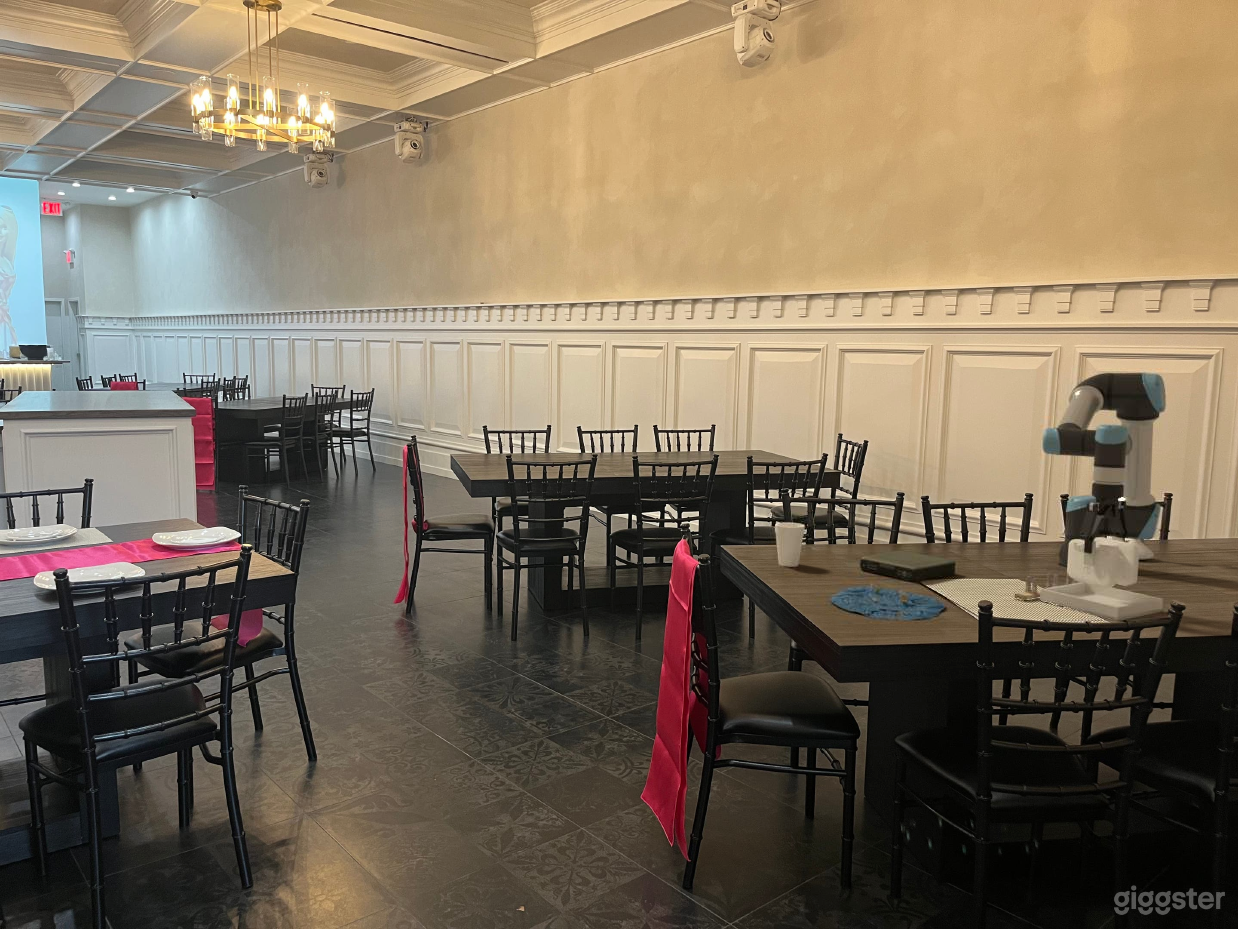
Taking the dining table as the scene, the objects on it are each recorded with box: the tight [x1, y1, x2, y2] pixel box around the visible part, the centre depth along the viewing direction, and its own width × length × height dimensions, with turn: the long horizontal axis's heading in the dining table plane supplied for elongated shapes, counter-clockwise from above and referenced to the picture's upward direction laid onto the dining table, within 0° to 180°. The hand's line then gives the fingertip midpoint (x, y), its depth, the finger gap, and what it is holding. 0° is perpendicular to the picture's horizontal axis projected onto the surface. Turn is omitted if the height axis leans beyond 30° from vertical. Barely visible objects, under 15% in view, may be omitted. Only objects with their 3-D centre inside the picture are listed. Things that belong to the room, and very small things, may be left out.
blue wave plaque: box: [829, 583, 946, 621], centre depth 244 cm, size 30×30×5 cm
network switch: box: [859, 549, 956, 583], centre depth 285 cm, size 23×23×5 cm
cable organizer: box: [1066, 537, 1139, 588], centre depth 245 cm, size 15×11×12 cm
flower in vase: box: [1127, 539, 1155, 561], centre depth 312 cm, size 13×11×25 cm
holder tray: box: [1039, 582, 1164, 622], centre depth 246 cm, size 20×22×4 cm
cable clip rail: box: [1014, 572, 1078, 600], centre depth 258 cm, size 28×3×6 cm, turn 120°
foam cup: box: [774, 522, 806, 568], centre depth 294 cm, size 10×9×13 cm
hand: (1102, 563), depth 245 cm, fingers closed on cable organizer, 11 cm apart
